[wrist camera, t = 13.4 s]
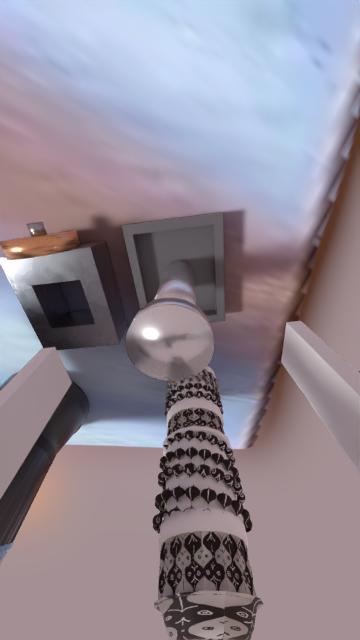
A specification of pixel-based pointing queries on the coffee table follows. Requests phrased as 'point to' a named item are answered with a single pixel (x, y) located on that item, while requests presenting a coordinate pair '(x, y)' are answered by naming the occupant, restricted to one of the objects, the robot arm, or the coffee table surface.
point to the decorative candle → (202, 521)
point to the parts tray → (180, 257)
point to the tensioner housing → (46, 294)
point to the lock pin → (171, 330)
